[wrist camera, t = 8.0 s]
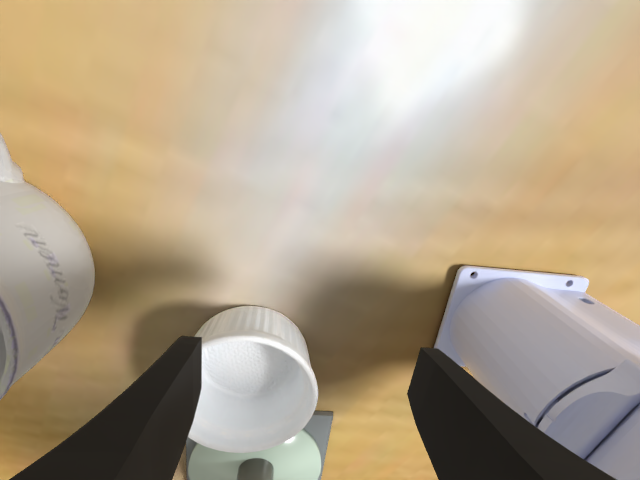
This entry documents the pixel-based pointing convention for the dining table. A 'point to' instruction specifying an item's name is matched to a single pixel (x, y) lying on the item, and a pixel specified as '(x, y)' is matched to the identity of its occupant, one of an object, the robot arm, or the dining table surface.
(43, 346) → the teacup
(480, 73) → the dining table surface
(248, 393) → the ramekin
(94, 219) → the dining table surface
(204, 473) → the lid
